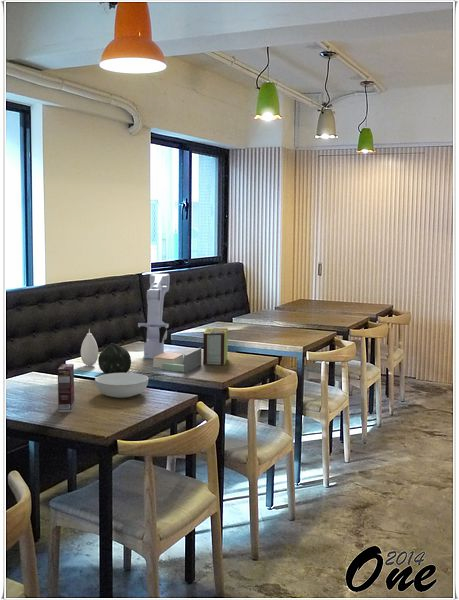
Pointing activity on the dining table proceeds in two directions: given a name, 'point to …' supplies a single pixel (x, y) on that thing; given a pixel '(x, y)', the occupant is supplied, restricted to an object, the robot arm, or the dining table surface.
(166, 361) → the carton
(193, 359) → the grey printed box
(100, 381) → the serving bowl
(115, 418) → the dining table surface
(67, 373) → the supplement box
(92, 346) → the white teardrop bulb
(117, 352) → the squash
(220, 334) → the protein box
